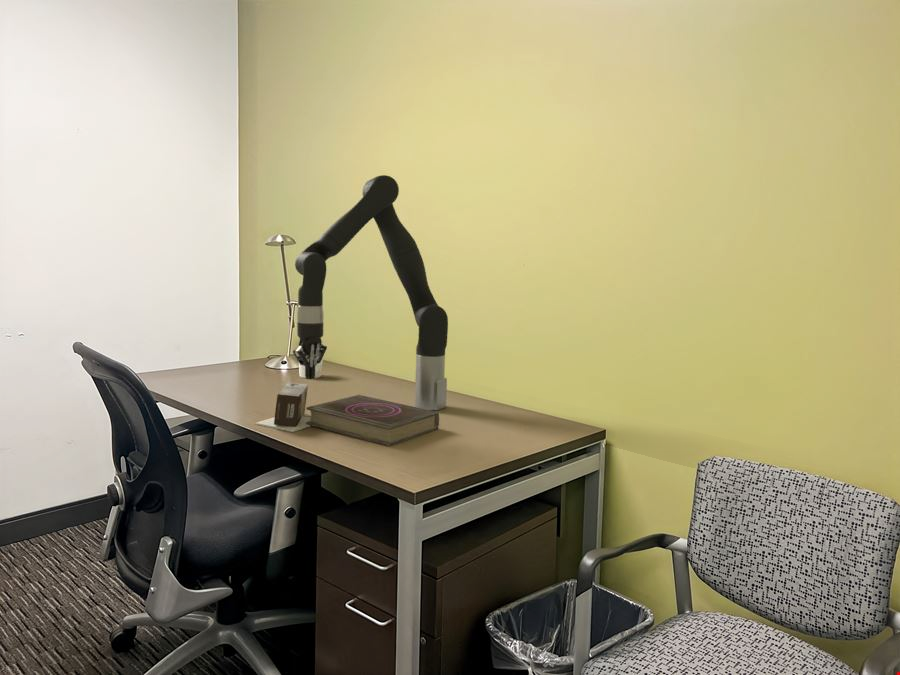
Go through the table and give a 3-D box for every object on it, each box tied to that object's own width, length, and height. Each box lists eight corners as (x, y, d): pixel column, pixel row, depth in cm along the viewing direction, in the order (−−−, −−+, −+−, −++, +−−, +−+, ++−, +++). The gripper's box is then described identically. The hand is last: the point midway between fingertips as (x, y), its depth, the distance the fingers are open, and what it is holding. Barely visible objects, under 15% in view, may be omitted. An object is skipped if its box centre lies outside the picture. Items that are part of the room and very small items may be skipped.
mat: (329, 419, 204) (329, 418, 204) (292, 432, 190) (293, 430, 190) (293, 412, 210) (293, 411, 210) (255, 424, 196) (255, 422, 196)
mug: (293, 376, 264) (293, 350, 263) (310, 373, 271) (310, 347, 270) (313, 380, 258) (313, 353, 256) (330, 377, 265) (330, 350, 264)
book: (306, 424, 197) (306, 407, 196) (359, 409, 215) (360, 394, 214) (388, 446, 179) (389, 427, 179) (439, 428, 197) (439, 411, 197)
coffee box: (305, 413, 209) (296, 428, 193) (284, 410, 209) (273, 426, 193) (308, 383, 208) (299, 396, 192) (287, 381, 207) (276, 394, 192)
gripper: (305, 323, 195) (305, 384, 197) (334, 319, 207) (334, 376, 209) (285, 321, 199) (285, 380, 201) (315, 317, 210) (314, 373, 213)
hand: (310, 378), depth 205 cm, fingers closed
